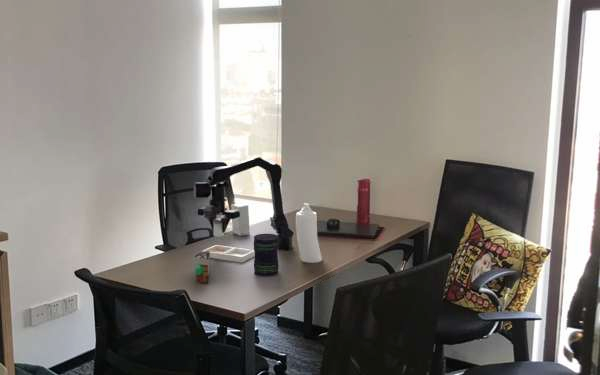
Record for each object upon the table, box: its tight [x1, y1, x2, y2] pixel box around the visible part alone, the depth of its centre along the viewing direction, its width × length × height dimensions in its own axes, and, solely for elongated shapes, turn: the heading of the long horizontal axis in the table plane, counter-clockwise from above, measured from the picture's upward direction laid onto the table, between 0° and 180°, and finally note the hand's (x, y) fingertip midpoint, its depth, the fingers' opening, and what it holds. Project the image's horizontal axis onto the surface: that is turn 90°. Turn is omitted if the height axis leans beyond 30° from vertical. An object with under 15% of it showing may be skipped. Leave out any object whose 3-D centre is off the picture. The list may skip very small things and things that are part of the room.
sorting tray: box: [201, 244, 255, 264], centre depth 268 cm, size 20×11×2 cm, turn 64°
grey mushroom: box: [213, 217, 225, 238], centre depth 268 cm, size 5×5×7 cm
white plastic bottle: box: [295, 202, 323, 264], centre depth 260 cm, size 12×11×25 cm
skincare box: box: [230, 202, 251, 236], centre depth 306 cm, size 8×6×15 cm
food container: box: [192, 250, 211, 285], centre depth 236 cm, size 12×6×10 cm, turn 5°
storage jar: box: [253, 233, 279, 278], centre depth 244 cm, size 10×10×15 cm
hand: (218, 232), depth 269 cm, fingers closed on grey mushroom, 5 cm apart
